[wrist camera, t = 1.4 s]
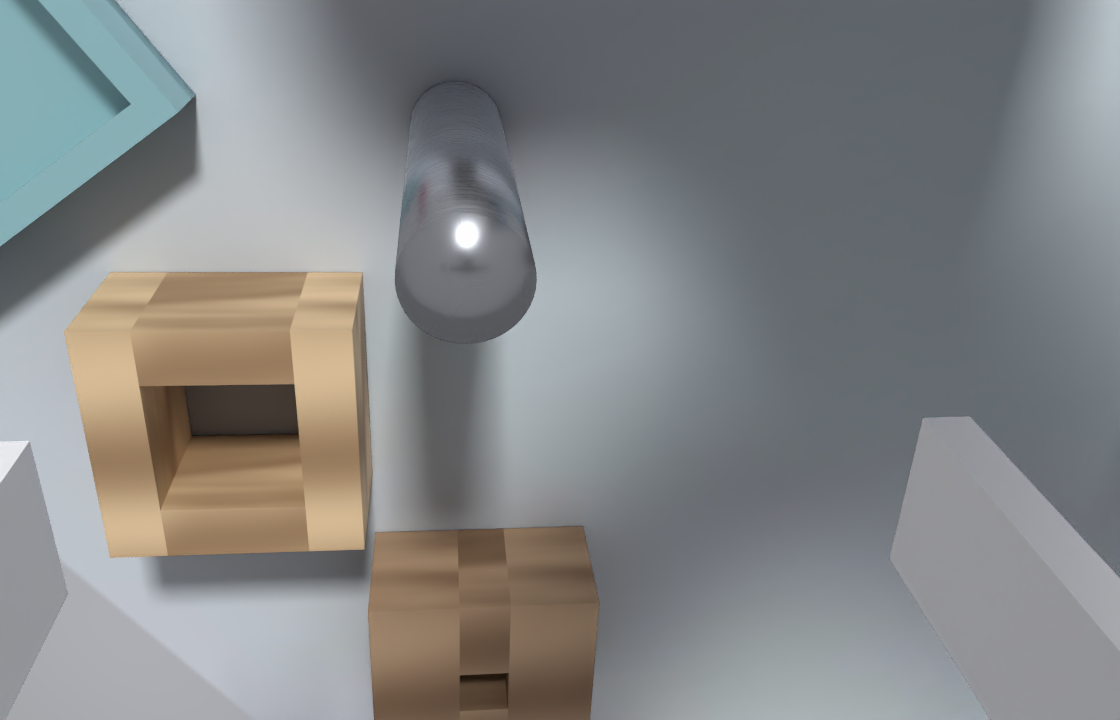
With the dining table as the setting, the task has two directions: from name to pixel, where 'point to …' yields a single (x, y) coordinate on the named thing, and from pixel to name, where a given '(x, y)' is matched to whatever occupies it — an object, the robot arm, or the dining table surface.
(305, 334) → the oak block wide bore
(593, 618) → the walnut block narrow bore
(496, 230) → the cylinder
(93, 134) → the teal tray
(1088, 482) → the dining table surface
